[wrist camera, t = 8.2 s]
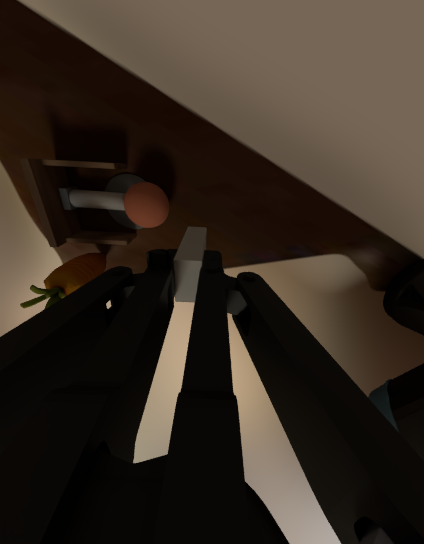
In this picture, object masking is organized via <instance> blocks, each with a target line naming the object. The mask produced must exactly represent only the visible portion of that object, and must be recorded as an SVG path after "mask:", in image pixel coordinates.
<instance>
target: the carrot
mask: <svg viewBox="0 0 424 544" xmlns="http://www.w3.org/2000/svg"><path fill="white" fill-rule="evenodd" d="M105 268H106V255H105V254H104V253H87V254H84V255H81V256H78V257H76V258H74V259H72V260H70V261H68V262H66V263H65V264H63V265H62V266H60V267H58V268H56V269H55V270H54V271H53V272H52V273H51V274H50V275H49V276H48V277H47V278H46V279H45V280H44V283H45V286H46V289H41V288H37V287H36V286H34V285H32V286H31V287H30V290H32V291H33V292H35V293H37V294H45V295H42V296H40V297H37V298H34V299H32V300H29V301H27V302H24V303H21V304H20V305H21V307H23V308H27V307H30V306H32V305H35V304H37V303H39V302H41V301H43V300H45V299H47V298H49V297H50V299H49V300H48V302H47V304H46V306H45V309H46V308H48V307H49V306H51V305H52V304H54V303H56V302H57V301H59V300H60V299H62V298H64V297H65V296H67V295H69V294H70V293H72V292H73V291H75V290H77V289H78V288H80V287H81V286H83V285H85V284H86V283H88V282H89V281H91V280H93V279H94V278H96V277H97V276H99V275H101V274H102V273H103V272H104V270H105Z"/></svg>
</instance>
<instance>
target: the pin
mask: <svg viewBox="0 0 424 544" xmlns="http://www.w3.org/2000/svg"><path fill="white" fill-rule="evenodd" d="M58 189H59V193H60V196H61V200H62V204H63V208H64V209H65V210H73V209H76V208H79V207H85V208H99V209H112V210H125V208H124V197H125V193H116V192H103V191H90V190H78V187H75V186H69V187H63V188H58Z"/></svg>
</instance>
